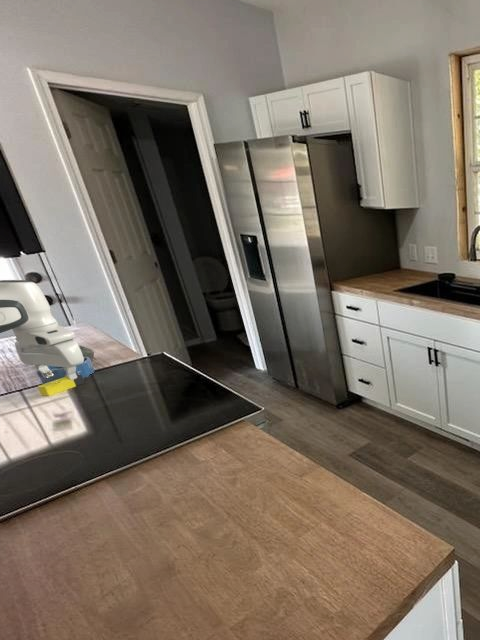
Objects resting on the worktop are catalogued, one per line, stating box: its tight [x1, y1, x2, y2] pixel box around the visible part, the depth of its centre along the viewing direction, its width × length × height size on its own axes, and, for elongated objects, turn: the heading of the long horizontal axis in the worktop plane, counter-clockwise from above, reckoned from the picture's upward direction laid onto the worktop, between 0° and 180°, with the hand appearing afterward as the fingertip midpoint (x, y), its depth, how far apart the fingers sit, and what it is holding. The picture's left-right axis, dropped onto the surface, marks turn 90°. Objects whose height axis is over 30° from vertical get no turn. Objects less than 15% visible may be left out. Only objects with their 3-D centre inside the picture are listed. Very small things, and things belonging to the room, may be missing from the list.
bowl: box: [34, 357, 96, 385], centre depth 132 cm, size 12×12×5 cm
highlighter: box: [37, 374, 86, 397], centre depth 124 cm, size 9×3×3 cm, turn 167°
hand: (60, 378), depth 124 cm, fingers open, 8 cm apart
